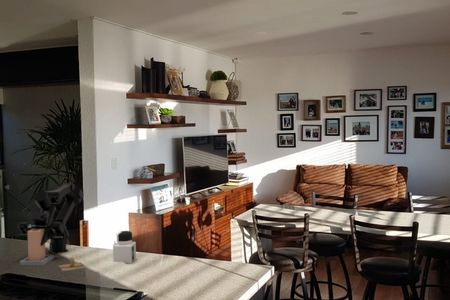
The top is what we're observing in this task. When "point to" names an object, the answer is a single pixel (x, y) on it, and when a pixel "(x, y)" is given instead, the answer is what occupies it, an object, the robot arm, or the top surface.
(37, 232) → the sleeve
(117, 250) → the container
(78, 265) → the stake block
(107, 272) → the top surface
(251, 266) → the top surface
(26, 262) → the tray
